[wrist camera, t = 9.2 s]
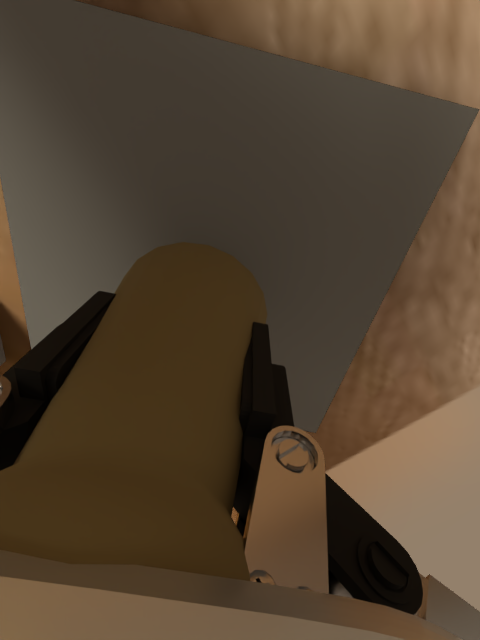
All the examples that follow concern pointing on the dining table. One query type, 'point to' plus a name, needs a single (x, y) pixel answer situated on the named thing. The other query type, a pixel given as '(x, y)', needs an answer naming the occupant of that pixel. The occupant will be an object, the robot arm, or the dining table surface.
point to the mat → (212, 174)
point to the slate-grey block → (2, 353)
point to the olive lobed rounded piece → (145, 427)
